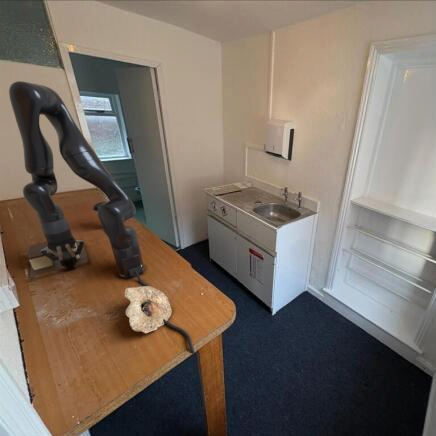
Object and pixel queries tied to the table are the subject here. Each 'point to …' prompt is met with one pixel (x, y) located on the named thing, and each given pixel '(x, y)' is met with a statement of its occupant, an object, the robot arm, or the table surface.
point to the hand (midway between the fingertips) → (70, 264)
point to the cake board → (58, 264)
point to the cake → (38, 256)
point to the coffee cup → (97, 209)
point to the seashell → (147, 308)
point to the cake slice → (75, 249)
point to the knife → (68, 260)
